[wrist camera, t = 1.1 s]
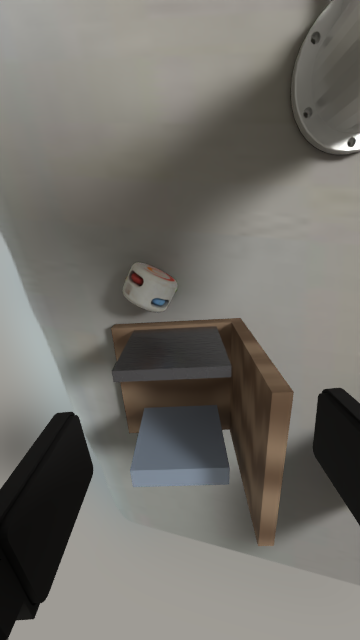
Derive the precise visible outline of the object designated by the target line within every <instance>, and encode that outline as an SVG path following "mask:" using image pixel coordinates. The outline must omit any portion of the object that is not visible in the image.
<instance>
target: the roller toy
mask: <svg viewBox="0 0 360 640" xmlns="http://www.w3.org/2000/svg"><path fill="white" fill-rule="evenodd" d="M177 287H178V285H177V282H176V280H175V279H174V278H172V277H171V276H169V275H168V274H166V273H165V272H163V271H161V270H159V269H157V268H155V267H153V266H150V265H148V264H145V263H140V262H137V263H134V264H133V265H132V267H131V269H130V272H129V274H128V276H127V277H126V281H125V284H124V286H123V289H122V291H123V294H124V296H125V297H126V298H127V299H128V300H129V301H130V302H131V303H133V304H135V305H136V306H138V307H140V308H142V309H145V310H148V311H151V312H163V311H165V310H166V309H167V307H168V305H169V303H170V301H171V299H172V297H173V295H174V293H175V292H176V291H177Z"/></svg>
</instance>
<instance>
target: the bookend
mask: <svg viewBox="0 0 360 640" xmlns="http://www.w3.org/2000/svg"><path fill="white" fill-rule="evenodd" d="M112 375H113V380H114V382H132V381H155V380H178V379H202V378H225V377H231V363H230V361H229V358H228V355H227V353H226V350H225V347H224V345H223V342H222V340H221V337H220V334H219V332H218V329H217V326H207V327H188V328H168V329H148V330H134V331H133V333H132V335H131V336H130V338H129V340H128V342H127V344H126V346H125V348H124V349H123V351H122V353H121V355H120V357H119V359H118V361H117V363H116V364H115V366H114V368H113V370H112Z"/></svg>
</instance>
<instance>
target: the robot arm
mask: <svg viewBox="0 0 360 640" xmlns="http://www.w3.org/2000/svg"><path fill="white" fill-rule="evenodd" d="M291 102H292V109H293V113H294V117H295V121H296V123H297V125H298V127H299V129H300V131H301V133H302V134H303V135H304V137H305V138H306V139H307V141H309V142H310V143H311V144H312V145H313V146H314V147H316V148H318V149H320V150H322V151H324V152H326V153H331V154H336V155H341V154H351V153H355V152H359V151H360V0H332V1H331V2H330V4H329V5H328V6H327V7H326V8H325V9H324V10H323V12H322V13H321V14H320V15H319V17H318V18H317V20H316V21H315V23H314V24H313V26H312V27H311V29H310V31H309V32H308V34H307V36H306V38H305V40H304V41H303V43H302V45H301V48H300V51H299V53H298V56H297V58H296V61H295V66H294V70H293V75H292V83H291ZM304 115H305V116H306V118H305V117H304ZM347 144H348V146H347ZM313 452H314V455H315V457H316V459H317V460H318V462H319V463H320V465H321V466H322V468H323V470H324V471H325V473H326V474H327V476H328V477H329V479H330V480H331V482H332V483H333V485H334V487H335V488H336V490H337V491H338V493H339V494H340V496H341V497H342V499H343V500H344V502H345V503H346V505H347V507H348V508H349V510H350V511H351V513H352V514H353V516H354V517H355V519H356V520H357V522H358V524H359V525H360V403H359V402H357V401H356V400H355V399H354V398H353V397H352V396H350V395H349V394H348V393H347V392H346V391H345V390H343V389H342V388H332V389H324V390H323V391H322V393H321V394H319V396H318V403H317V413H316V423H315V432H314V442H313ZM92 475H93V464H92V461H91V457H90V454H89V451H88V447H87V444H86V440H85V437H84V433H83V430H82V427H81V423H80V420H79V417H78V416H77V415H75V414H74V413H73V412H63V413H57V414H55V415H54V416H53V418H52V419H51V421H50V422H49V423H48V425H47V426H46V427H45V429H44V430H43V432H42V433H41V434H40V436H39V437H38V438H37V440H36V441H35V442H34V444H33V446H32V447H31V448H30V449H29V451H28V452H27V453H26V455H25V456H24V458H23V459H22V460H21V462H20V463H19V465H18V466H17V467H16V469H15V470H14V471H13V473H12V474H11V476H10V477H9V478H8V480H7V481H6V482H5V484H4V485H3V487H2V488H1V489H0V640H8V637H9V635H10V633H11V630H12V628H13V626H14V623H15V621H16V620H28V619H34V618H35V615H36V612H37V610H38V607H39V605H40V603H42V602H44V601H45V599H46V598H47V596H48V594H49V591H50V589H51V586H52V583H53V580H54V578H55V575H56V572H57V570H58V567H59V564H60V562H61V559H62V556H63V554H64V551H65V548H66V545H67V543H68V540H69V537H70V535H71V532H72V529H73V527H74V524H75V521H76V519H77V516H78V513H79V510H80V508H81V505H82V502H83V500H84V497H85V494H86V492H87V489H88V486H89V483H90V481H91V478H92Z"/></svg>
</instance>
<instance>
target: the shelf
mask: <svg viewBox="0 0 360 640" xmlns="http://www.w3.org/2000/svg"><path fill="white" fill-rule="evenodd" d="M207 326H217V329H218V332H219V334H220V337H221V340H222V342H223V345H224V347H225V350H226V353H227V355H228V358H229V361H230V363H231V377H225V378H202V379H178V380H155V381H132V382H120V383H121V388H122V394H123V400H124V406H125V412H126V417H127V423H128V429H129V433H139V430H140V425H141V421H142V417H143V412H144V408H154V407H179V406H204V405H217V408H218V413H219V418H220V423H221V428H222V430H224V429H230V432H231V437H232V441H233V445H234V449H235V453H236V457H237V461H238V465H239V469H240V473H241V478H242V482H243V486H244V490H245V494H246V498H247V502H248V506H249V510H250V514H251V519H252V523H253V527H254V531H255V535H256V539H257V543H258V546H274V539H275V532H276V524H277V516H278V509H279V501H280V493H281V485H282V478H283V470H284V462H285V455H286V447H287V439H288V431H289V424H290V416H291V408H292V401H293V393H294V392H293V391H292V389H291V388H290V386H289V385H288V384H287V382H286V381H285V379H284V378H283V377H282V375H281V374H280V372H279V371H278V370H277V368H276V367H275V365H274V364H273V363H272V361H271V360H270V359H269V357H268V356H267V354H266V353H265V352H264V350H263V349H262V347H261V346H260V345H259V343H258V342H257V340H256V339H255V338H254V336H253V335H252V333H251V332H250V331H249V329H248V328H247V326H246V325H245V324H244V322H243V321H242V320H241V318H232V319H213V320H193V321H174V322H154V323H135V324H115V325H114V326H113V327H112V328H111V331H112V336H113V342H114V348H115V354H116V360H117V361H118V359H119V357H120V355H121V353H122V351H123V349H124V348H125V346H126V344H127V342H128V340H129V338H130V336H131V335H132V333H133V331H134V330H148V329H168V328H188V327H207Z"/></svg>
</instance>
